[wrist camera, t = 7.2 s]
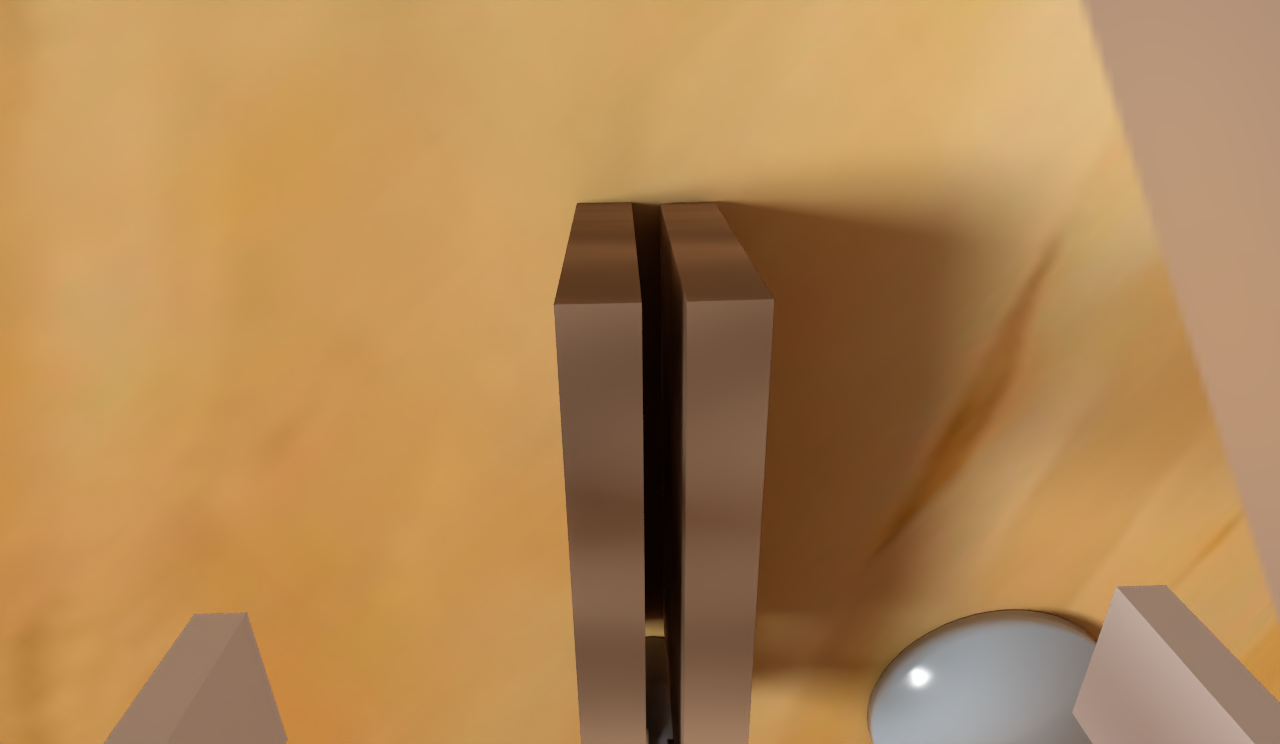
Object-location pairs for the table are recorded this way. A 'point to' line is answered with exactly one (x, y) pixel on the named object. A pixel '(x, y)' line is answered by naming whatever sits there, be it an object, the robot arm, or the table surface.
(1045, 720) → the grey domed disc
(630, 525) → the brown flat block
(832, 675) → the table surface
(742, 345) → the tongs hinged jaw
